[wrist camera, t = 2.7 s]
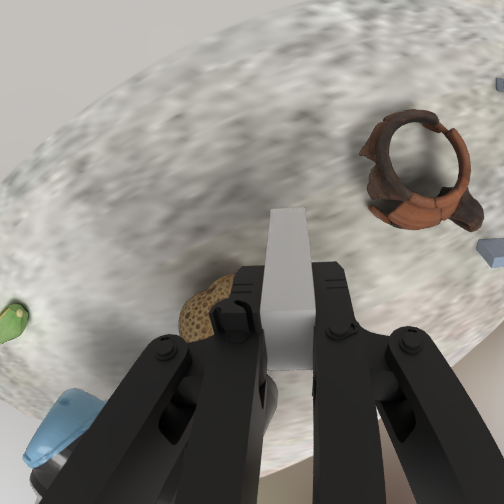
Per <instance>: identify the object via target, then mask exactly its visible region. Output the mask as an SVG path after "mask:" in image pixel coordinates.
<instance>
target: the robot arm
mask: <svg viewBox="0 0 504 504" xmlns="http://www.w3.org/2000/svg"><path fill="white" fill-rule="evenodd" d="M208 314H209V317H210V321H211V324H212V328H213V331H214V335H212V336H210V337H208V338H205V339H202V340H198V341H194V342H190V343H187V342H186V341H185V340H184V339H183V338H182V337H180V336H178V335H172V334H168V335H163V336H160V337H158V338H156V339H154V340H153V341H152V342H151V343H150V344H149V345H148V346H147V347H146V348H145V350H144V351H143V352H142V354H141V355H140V357H139V358H138V359H137V361H136V362H135V364H134V365H133V366H132V368H131V369H130V370H129V372H128V373H127V375H126V376H125V377H124V379H123V380H122V382H121V383H120V384H119V386H118V387H117V389H116V390H115V391H114V393H113V394H112V396H111V397H110V399H109V400H108V401H102V400H100V399H98V398H97V397H95V396H93V395H91V394H89V393H87V392H85V391H83V390H81V389H77V388H72V389H69V390H67V391H65V392H64V393H63V394H62V395H61V396H60V398H59V399H58V400H57V401H56V403H55V404H54V406H53V407H52V408H51V410H50V411H49V413H48V414H47V416H46V417H45V419H44V420H43V422H42V423H41V425H40V426H39V428H38V429H37V431H36V433H35V434H34V436H33V438H32V439H31V441H30V443H29V445H28V446H27V448H26V451H25V454H23V460H24V462H25V463H26V464H27V465H28V467H30V468H33V470H32V473H31V475H30V485H31V487H32V489H33V490H34V492H35V494H36V495H37V499H36V502H35V504H257V494H258V484H259V475H260V465H261V454H262V443H263V436H264V434H265V432H266V430H267V428H268V425H269V423H270V421H271V419H272V417H273V415H274V412H275V410H276V407H277V396H278V391H277V387H276V385H275V383H274V382H273V381H272V379H271V378H270V377H268V376H267V375H266V373H267V368H268V371H284V370H313V388H312V396H313V422H314V460H313V462H314V463H313V464H314V465H313V467H314V468H313V504H386V493H385V480H384V469H383V459H382V449H381V441H380V433H379V426H378V418H377V411H376V407H377V409H378V412H379V414H380V416H381V418H382V420H383V423H384V425H385V428H386V430H387V432H388V434H389V437H390V439H391V441H392V444H393V446H394V448H395V451H396V453H397V455H398V458H399V460H400V463H401V465H402V468H403V470H404V472H405V475H406V477H407V480H408V482H409V485H410V487H411V490H412V492H413V495H414V497H415V500H416V503H417V504H504V458H503V456H502V454H501V452H500V450H499V448H498V446H497V444H496V442H495V441H494V439H493V437H492V435H491V433H490V431H489V430H488V428H487V426H486V424H485V423H484V421H483V419H482V417H481V416H480V414H479V412H478V410H477V409H476V407H475V405H474V404H473V402H472V400H471V399H470V397H469V395H468V394H467V393H466V391H465V389H464V387H463V386H462V384H461V383H460V381H459V379H458V378H457V376H456V375H455V373H454V372H453V370H452V369H451V367H450V366H449V364H448V363H447V361H446V360H445V358H444V357H443V355H442V354H441V352H440V351H439V349H438V348H437V346H436V345H435V343H434V342H433V340H432V339H431V338H430V336H429V335H428V334H427V333H426V332H425V331H423V330H421V329H419V328H417V327H411V326H406V327H400V328H398V329H396V330H394V331H393V333H392V334H391V335H390V336H386V335H380V334H375V333H372V332H369V331H367V330H365V329H364V328H362V327H361V326H360V324H359V323H358V322H357V321H356V319H355V317H354V312H353V307H352V303H351V298H350V294H349V289H348V285H347V281H346V277H345V272H344V269H343V268H342V267H341V266H340V265H339V264H338V263H337V262H336V261H334V262H313V263H311V256H310V247H309V239H308V230H307V222H306V214H305V207H299V208H280V209H271V214H270V223H269V233H268V242H267V252H266V261H265V265H264V266H242V267H241V268H240V269H239V270H238V272H237V273H236V274H235V275H234V280H233V286H232V288H231V294H230V297H229V298H226V299H224V300H221V301H219V302H217V303H216V304H215V305H214V306H212V308H211V309H210V311H209V313H208Z"/></svg>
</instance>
